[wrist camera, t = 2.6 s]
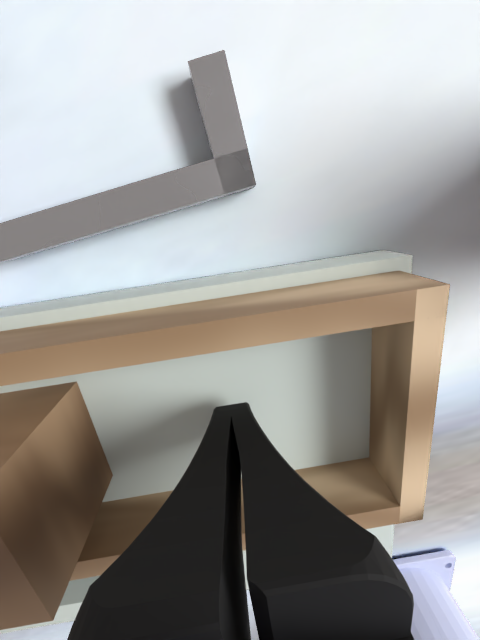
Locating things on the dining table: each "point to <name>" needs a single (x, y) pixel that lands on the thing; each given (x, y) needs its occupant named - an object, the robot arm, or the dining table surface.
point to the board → (220, 387)
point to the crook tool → (156, 192)
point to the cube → (45, 497)
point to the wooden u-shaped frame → (260, 329)
